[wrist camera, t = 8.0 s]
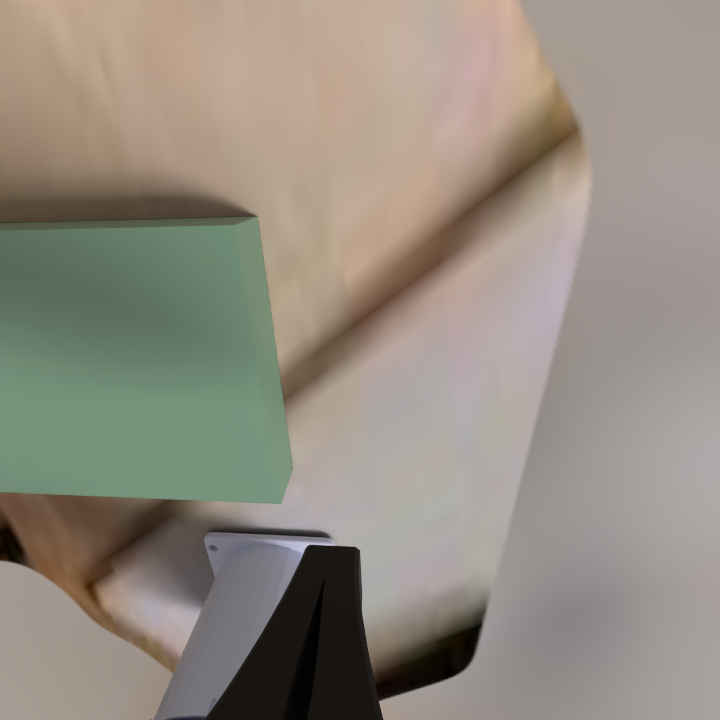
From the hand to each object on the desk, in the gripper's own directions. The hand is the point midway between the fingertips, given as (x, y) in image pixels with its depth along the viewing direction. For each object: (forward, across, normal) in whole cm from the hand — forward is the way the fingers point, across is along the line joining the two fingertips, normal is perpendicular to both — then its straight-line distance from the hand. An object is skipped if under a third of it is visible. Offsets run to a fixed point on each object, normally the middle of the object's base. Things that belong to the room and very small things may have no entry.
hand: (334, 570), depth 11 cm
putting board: (+9, +15, -2) cm, 18 cm away
